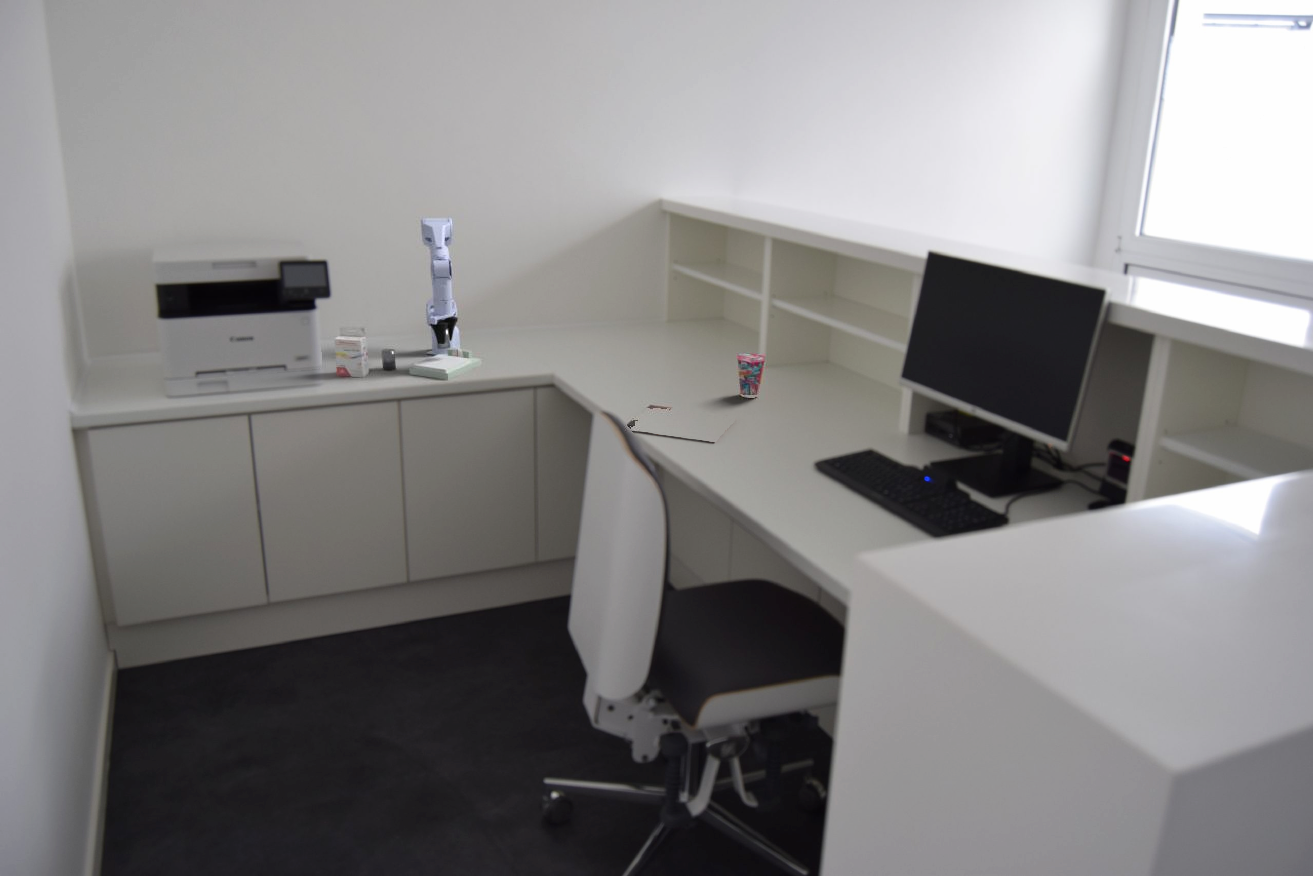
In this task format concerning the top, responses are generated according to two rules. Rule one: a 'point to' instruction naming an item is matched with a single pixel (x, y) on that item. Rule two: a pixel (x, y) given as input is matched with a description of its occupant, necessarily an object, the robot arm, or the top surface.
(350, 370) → the ink cartridge box
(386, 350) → the cylinder
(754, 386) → the cup
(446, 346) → the cylinder
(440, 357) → the scale
